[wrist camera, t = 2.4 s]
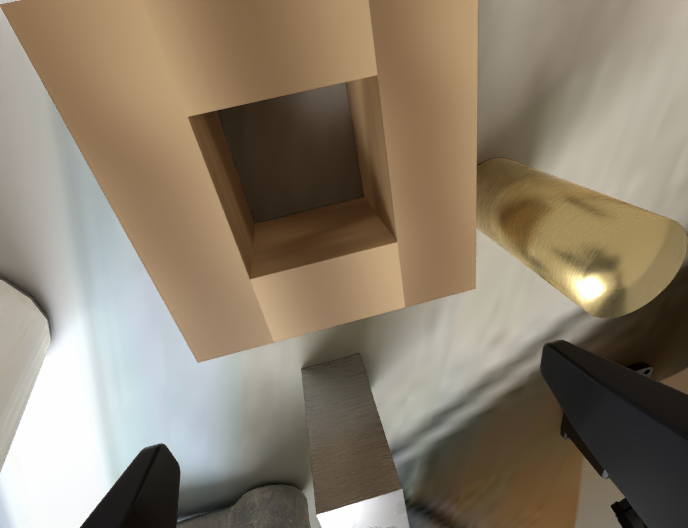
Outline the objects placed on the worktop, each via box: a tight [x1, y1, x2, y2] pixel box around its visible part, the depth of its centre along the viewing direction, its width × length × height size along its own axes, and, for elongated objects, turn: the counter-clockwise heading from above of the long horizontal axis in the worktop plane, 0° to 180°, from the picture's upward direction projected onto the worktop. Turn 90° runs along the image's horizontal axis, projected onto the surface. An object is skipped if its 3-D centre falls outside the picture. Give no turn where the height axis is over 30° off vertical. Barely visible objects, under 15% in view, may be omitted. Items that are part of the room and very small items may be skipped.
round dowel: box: [476, 158, 687, 318], centre depth 14 cm, size 4×4×8 cm
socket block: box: [0, 0, 478, 363], centre depth 13 cm, size 11×11×5 cm
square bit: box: [301, 353, 409, 528], centre depth 19 cm, size 4×4×8 cm
